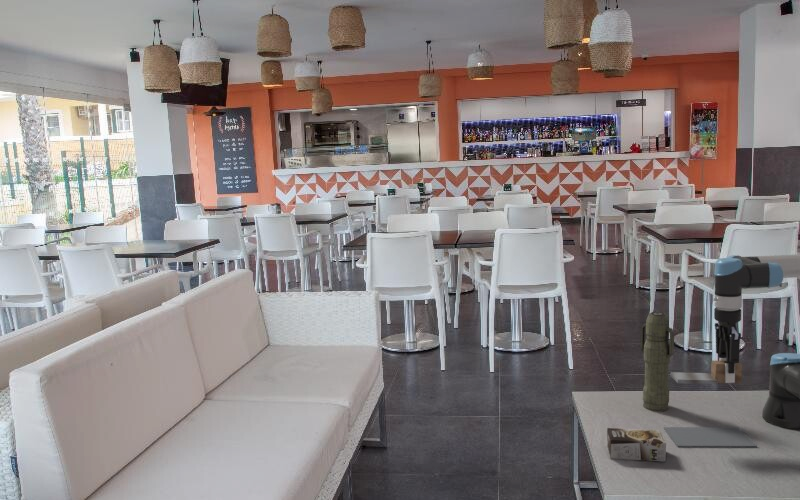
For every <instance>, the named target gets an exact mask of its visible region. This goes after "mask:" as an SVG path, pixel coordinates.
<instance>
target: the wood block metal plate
mask: <svg viewBox="0 0 800 500" xmlns="http://www.w3.org/2000/svg"><path fill="white" fill-rule="evenodd" d="M710 366H711V367H710V373H709V372H678V371H671V372H669V373H670V374H669V376H670V377H671V378H672V379H673V380H674V381H675V382H676V383H677V384H693V385H695V384H696V385H697V384H698V385H718V383H719V384H721V383H722V384H725V363H724V361H719V360H711V365H710ZM743 366H744V365H743V364H742V363H741V362H740V361H739V363H735V383H734V384H742V379H743V378H742V377H743Z"/></svg>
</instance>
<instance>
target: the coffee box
mask: <svg viewBox="0 0 800 500" xmlns="http://www.w3.org/2000/svg"><path fill="white" fill-rule="evenodd" d="M606 430H607V431H606V433H607V434H606V436H607V437H606V438H607V441H606V442H607V446H606V447H607V450H608V454H609V458H610V459H613V460H627V461H628V460H629V461H630V460H631V461H645V462H646V461H648V462H666V459H667V457H666V456H667V442H666V439H665V437H664V435H663V433H662V431H661V430H659V429H639V428H636V429H635V428H615V427H613V428H612V427H607V429H606Z"/></svg>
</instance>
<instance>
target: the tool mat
mask: <svg viewBox="0 0 800 500" xmlns="http://www.w3.org/2000/svg"><path fill="white" fill-rule="evenodd" d="M663 430H664V431H665V432H666V433H667V435H668V437H669V438H670V439H671V440H672V442H673V443H674V444H675V446H676V447H677V448H758V445H757V444H756V443H755V442H754V441H753V440H752V439H751V438H750V437H749V436H748V435H747V434H746V433H744V431H743V430H742V429H741V428H739V427H738V426H737V427H736V426H734V427H733V426H732V427H731V426H723V427H720V426H719V427H718V426H717V427H716V426H713V427H711V426H710V427H709V426H707V427H706V426H705V427H704V426H699V427H697V426H695V427H694V426H690V427H689V426H688V427H687V426H683V427H682V426H680V427H679V426H678V427H677V426H676V427H675V426H674V427H673V426H672V427H671V426H669V427H668V426H666V427H665V426H664V427H663Z"/></svg>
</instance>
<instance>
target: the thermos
mask: <svg viewBox="0 0 800 500" xmlns="http://www.w3.org/2000/svg"><path fill="white" fill-rule="evenodd" d="M645 322H646V323H644V324H642V325H641V326H640V351H641V352H642V354H643V361H644V386H643V389H642V401H643V405H642V406H643V408H644V409H646V410H648V411H652V412H657V413H658V412H661V413H662V412H666V411H668V410H669V403H670V389H669V363H670V361H671V360H670V359H671V357H672V356H674V355H675V354H674V350H675V349H674V348H675V347H674V346H675V331H674V330H673V329H674V328H672V327H670V324H669V323H670V321H669V317H668V314H667V313H665V312H661V311H651V312H649V313H648V316H647V318H646V321H645ZM645 335H646V336H645Z"/></svg>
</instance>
